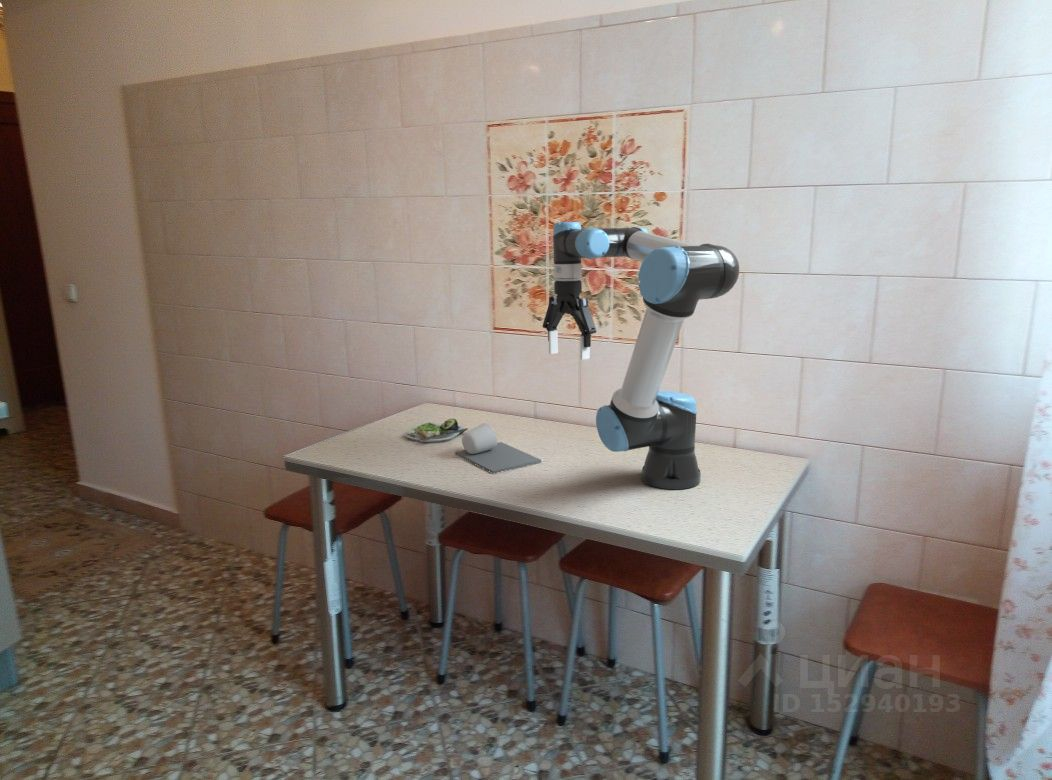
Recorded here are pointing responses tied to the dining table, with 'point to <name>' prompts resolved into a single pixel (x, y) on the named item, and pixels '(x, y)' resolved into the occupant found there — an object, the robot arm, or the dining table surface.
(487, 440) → the cup
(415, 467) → the dining table surface
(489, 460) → the mat
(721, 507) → the dining table surface
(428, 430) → the avocado toast plate
